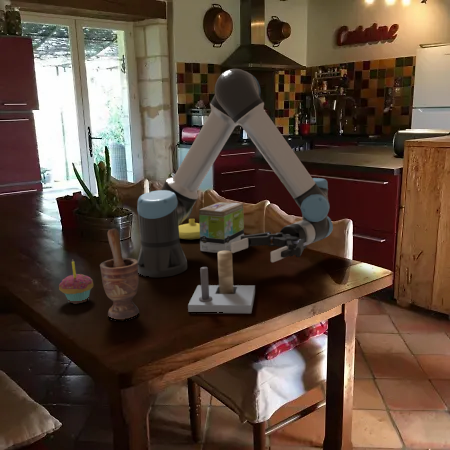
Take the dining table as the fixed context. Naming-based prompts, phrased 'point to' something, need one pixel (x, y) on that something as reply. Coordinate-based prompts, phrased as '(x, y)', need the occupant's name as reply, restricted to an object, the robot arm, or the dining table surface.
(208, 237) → the tea box
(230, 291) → the dowel
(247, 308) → the board
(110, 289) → the mortar and pestle
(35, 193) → the dining table surface
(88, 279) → the cupcake
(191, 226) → the yellow pot lid
